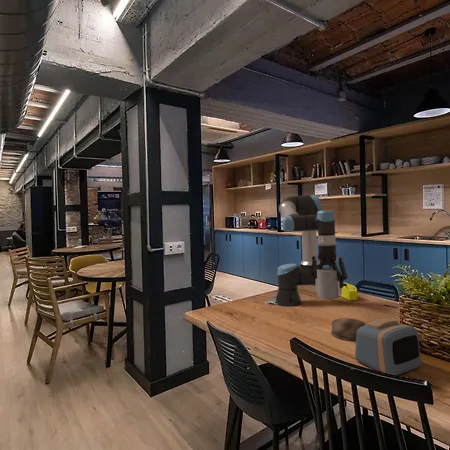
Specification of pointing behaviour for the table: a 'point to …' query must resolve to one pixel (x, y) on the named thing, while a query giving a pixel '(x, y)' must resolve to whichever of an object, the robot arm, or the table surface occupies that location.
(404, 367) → the alarm clock
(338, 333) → the plinth
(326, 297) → the speckled grey cylinder
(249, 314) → the table surface
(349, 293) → the yellow toy chassis
